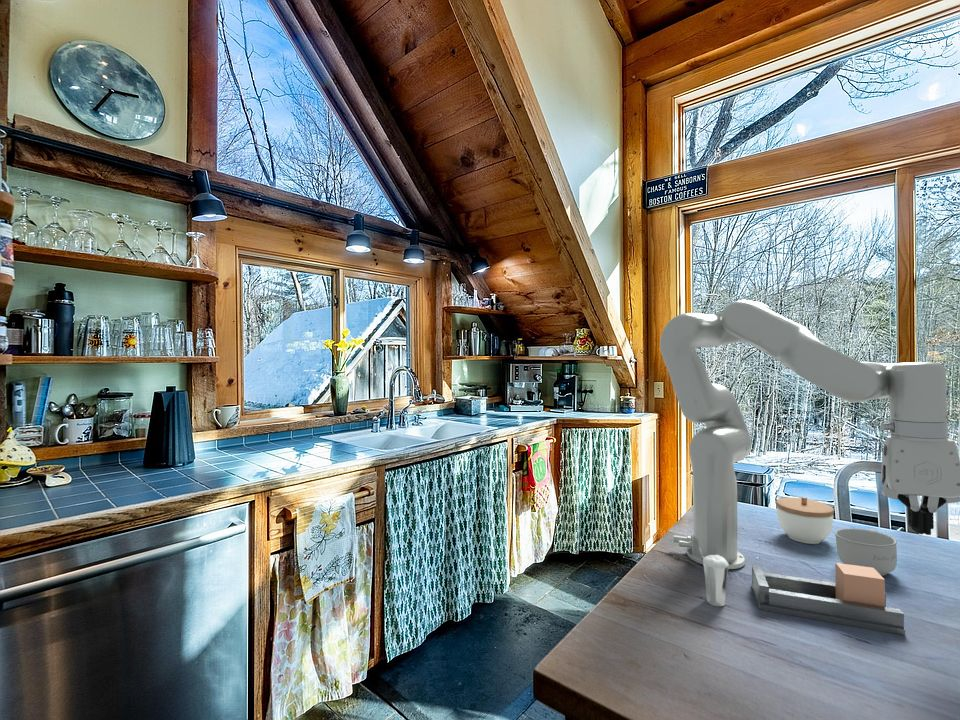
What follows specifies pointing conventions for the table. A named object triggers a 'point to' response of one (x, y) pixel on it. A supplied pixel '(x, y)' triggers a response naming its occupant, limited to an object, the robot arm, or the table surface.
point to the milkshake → (715, 578)
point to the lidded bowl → (805, 519)
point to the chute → (820, 602)
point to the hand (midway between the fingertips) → (920, 531)
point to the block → (859, 584)
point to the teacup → (867, 549)
